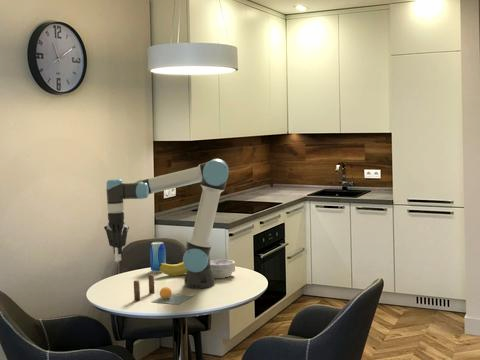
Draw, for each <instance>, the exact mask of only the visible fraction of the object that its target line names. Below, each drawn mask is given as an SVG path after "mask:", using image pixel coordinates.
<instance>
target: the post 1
mask: <svg viewBox="0 0 480 360" xmlns="http://www.w3.org/2000/svg"><path fill="white" fill-rule="evenodd" d="M140 292H141V287H140V280H137V279H136V280H134V281H133V294H134V296H133V299H134V301H135V302H139V301H141V293H140Z"/></svg>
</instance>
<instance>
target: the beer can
mask: <svg viewBox="0 0 480 360" xmlns="http://www.w3.org/2000/svg"><path fill="white" fill-rule="evenodd" d="M149 258H150V260H149V261H150V270H151V272H152V273H155V274H158V273H160V274H161V273H163V272H162V271H161V270H160V268H159V264H160V263H164V264H167V261H166V259H167V258H166V246H165V244H164V242H163V241H153V242H152V243H150V247H149Z"/></svg>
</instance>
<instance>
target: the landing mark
mask: <svg viewBox="0 0 480 360" xmlns="http://www.w3.org/2000/svg"><path fill="white" fill-rule="evenodd" d="M193 297H194V296H193V295H184V294H176V293H175V294H174V293H172V294H171V297H170V298H168V299H163V298H162V297H161V296H160V297H158V298H156V299H154V300H152V301H151V303H157V304H167V305H177V306H179V305H181V304H182V303H184V302H186V301H189V299H191V298H193Z"/></svg>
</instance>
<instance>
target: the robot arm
mask: <svg viewBox="0 0 480 360" xmlns="http://www.w3.org/2000/svg"><path fill="white" fill-rule="evenodd" d="M229 174H230V168H229V165H228V163H227V162H226V161H225V160H223V159H220V158H213V159H211V160H209V161H206V162H203V163H200V164H199V165H198V166H196V167H191V168H187V169H184V170H179V171H174V172H171V173H167V174H162V175H158V176H155V177H151V178H150V177H149V178H146V179H139V180H137V181H135V182H132V183H131V182H130V183H128V182H127V183H125V182H123V179H121V178H119V179H118V178H115V179H114V178H113V179H108V180H107V181H106V190H105V191H106V202H107V204H106V205H107V208H106V209H107V220H108V223H107V224H106V225H105V226H104V231H105V233H106V237H107V240H108V245H109V247H112V249H113V255H114V259H115V262H117V263H118V262H121V261H122V254H123V247H125V246H126V243H127V238H128V232H129V230H130V226H127V225H126V223H125V222H124V221H125V213H124V211H125V210H124V209H125V208H124V200H130V199H131V200H133V199H134V200H144V199H147V198H148V197H149V195H151V194H155V193H161V192H163V191H167V190H173V189H176V188H180V187H185V186H188V185H193V184H197V183H200V187H201V189H202V192H201V195H200V200H199V203H198V208H197V214H196V218H195V221H194V226H193V231H192V234H191V237H190V238H189V239H188V240H186V242H185V251H184V254H183V257H182V262H183V263H184V266H185V267H186V268H187V273H186V274H185V278H184V281H183V283H184V287H185V288H188V289H207V288H211V287H213V286H215V283H216V282H215V278H214V277H213V275H212V272H211V269H210V261H211V251H212V250H211V249H212V244H211V241H210V240H211V235H212V231H213V226H214V223H215V218H216V214H217V210H218V205H219V202H220V198H221V193H222V192H224V191H225V189H226V185H227V182H228V178H229Z"/></svg>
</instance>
